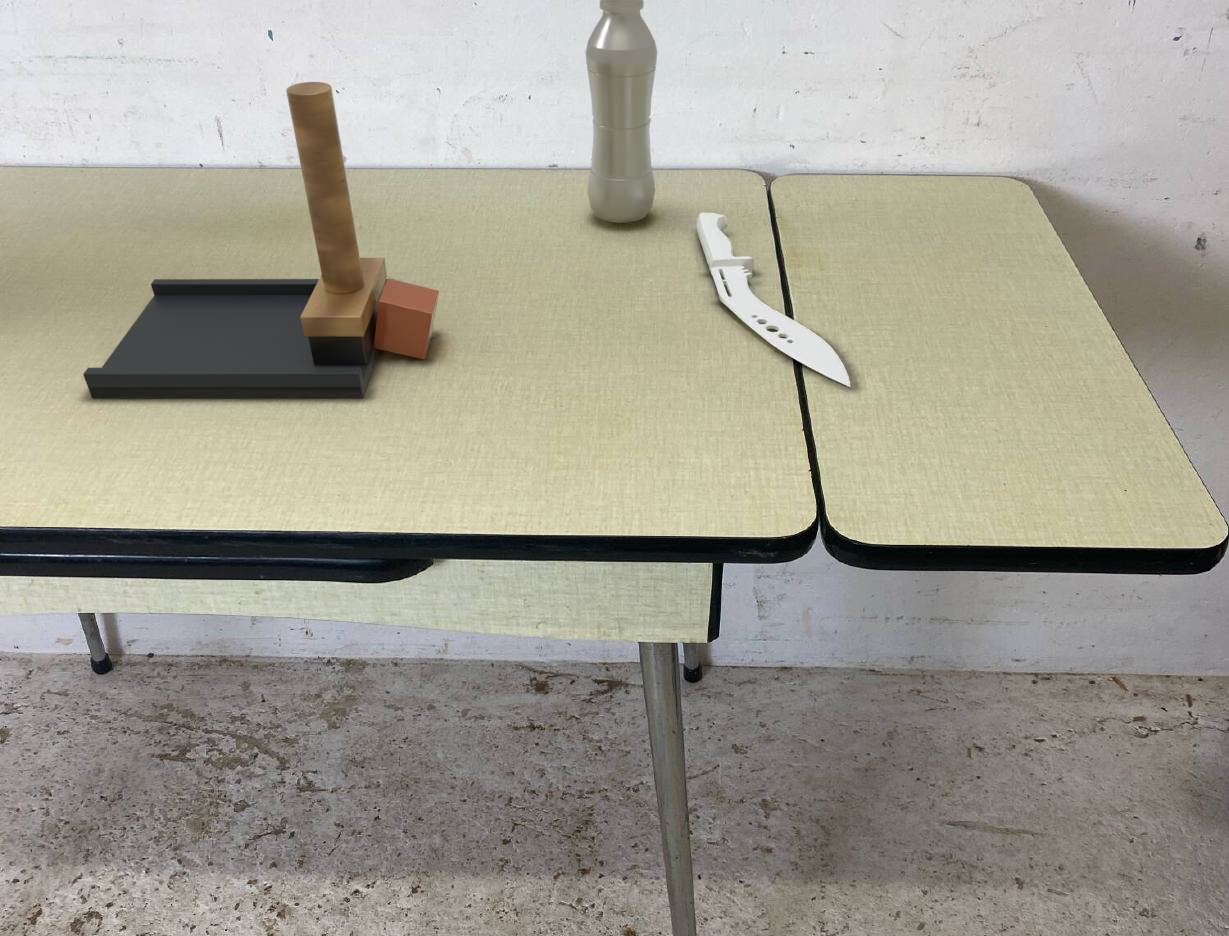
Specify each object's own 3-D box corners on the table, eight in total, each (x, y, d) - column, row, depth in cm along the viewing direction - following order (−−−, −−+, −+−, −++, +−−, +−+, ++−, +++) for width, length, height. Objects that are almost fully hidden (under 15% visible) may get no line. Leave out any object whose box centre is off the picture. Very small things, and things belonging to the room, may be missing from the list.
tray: (91, 398, 79) (82, 374, 78) (161, 301, 91) (154, 278, 90) (363, 398, 79) (358, 373, 78) (396, 301, 91) (393, 278, 90)
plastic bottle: (659, 206, 106) (665, -24, 93) (648, 233, 101) (653, -6, 88) (595, 202, 107) (591, -27, 94) (581, 229, 102) (576, -9, 89)
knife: (855, 377, 79) (751, 380, 79) (852, 396, 80) (749, 400, 80) (775, 208, 101) (693, 210, 100) (773, 225, 102) (692, 227, 101)
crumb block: (373, 348, 83) (378, 300, 80) (381, 324, 86) (387, 277, 83) (424, 360, 83) (432, 313, 81) (431, 335, 86) (439, 290, 84)
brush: (310, 366, 81) (256, 112, 69) (338, 304, 88) (294, 66, 76) (369, 366, 80) (325, 112, 69) (391, 304, 88) (356, 66, 76)
